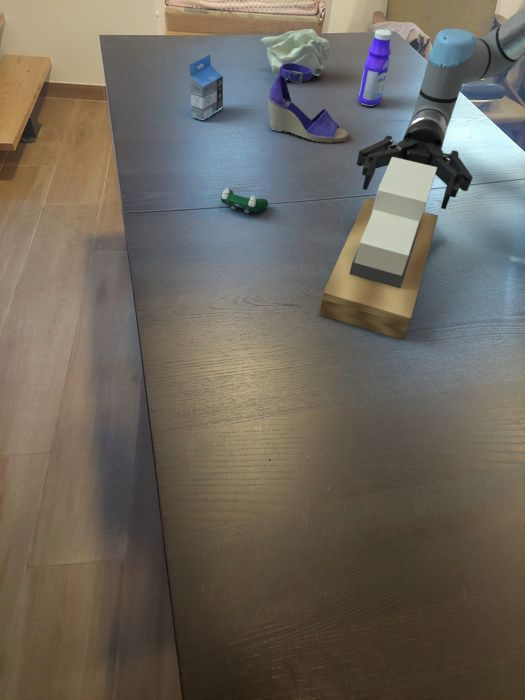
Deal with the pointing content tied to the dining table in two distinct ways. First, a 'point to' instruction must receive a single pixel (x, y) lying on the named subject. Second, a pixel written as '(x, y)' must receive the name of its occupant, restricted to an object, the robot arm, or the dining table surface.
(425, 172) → the white two-tier block
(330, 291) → the wooden base slab
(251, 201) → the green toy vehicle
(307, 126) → the sandal
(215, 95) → the ink cartridge box
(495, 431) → the dining table surface
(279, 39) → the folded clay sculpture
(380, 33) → the bottle
